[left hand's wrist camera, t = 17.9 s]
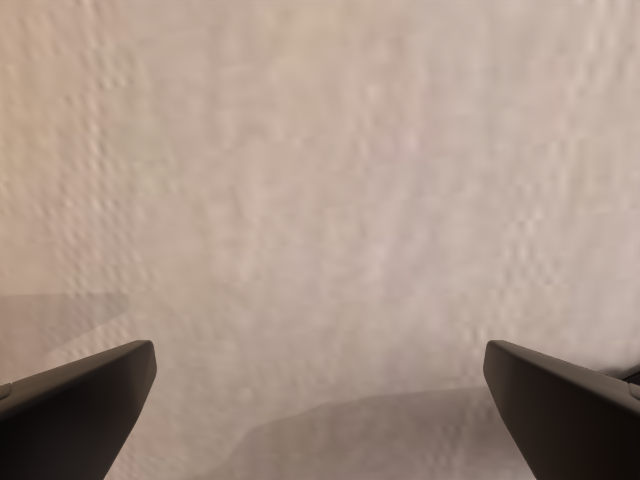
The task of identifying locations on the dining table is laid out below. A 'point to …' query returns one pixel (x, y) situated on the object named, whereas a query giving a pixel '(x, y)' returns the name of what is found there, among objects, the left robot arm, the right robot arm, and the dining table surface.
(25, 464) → the left robot arm
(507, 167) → the dining table surface
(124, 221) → the dining table surface
